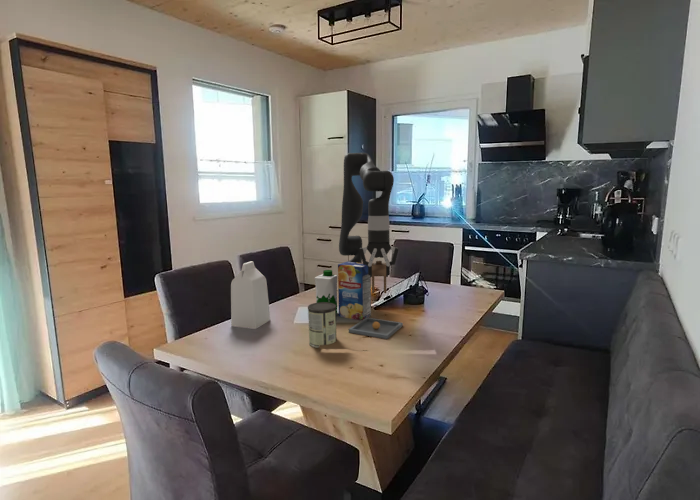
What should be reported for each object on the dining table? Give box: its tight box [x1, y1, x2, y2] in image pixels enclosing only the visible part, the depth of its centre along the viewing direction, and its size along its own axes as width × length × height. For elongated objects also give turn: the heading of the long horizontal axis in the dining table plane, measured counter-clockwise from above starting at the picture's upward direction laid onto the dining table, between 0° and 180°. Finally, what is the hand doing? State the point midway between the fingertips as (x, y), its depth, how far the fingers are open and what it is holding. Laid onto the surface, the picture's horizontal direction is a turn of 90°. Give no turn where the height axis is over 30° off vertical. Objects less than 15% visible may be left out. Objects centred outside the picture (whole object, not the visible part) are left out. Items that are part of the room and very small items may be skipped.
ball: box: [372, 322, 380, 329], centre depth 166 cm, size 3×3×3 cm
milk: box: [230, 260, 271, 330], centre depth 177 cm, size 12×12×26 cm
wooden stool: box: [371, 260, 387, 294], centre depth 150 cm, size 5×5×11 cm
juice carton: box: [337, 261, 372, 321], centre depth 181 cm, size 12×8×24 cm, turn 60°
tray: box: [348, 317, 404, 340], centre depth 166 cm, size 16×16×2 cm
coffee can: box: [307, 302, 337, 349], centre depth 154 cm, size 10×10×14 cm
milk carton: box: [314, 269, 338, 314], centre depth 185 cm, size 9×9×20 cm
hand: (379, 276), depth 150 cm, fingers closed on wooden stool, 5 cm apart
